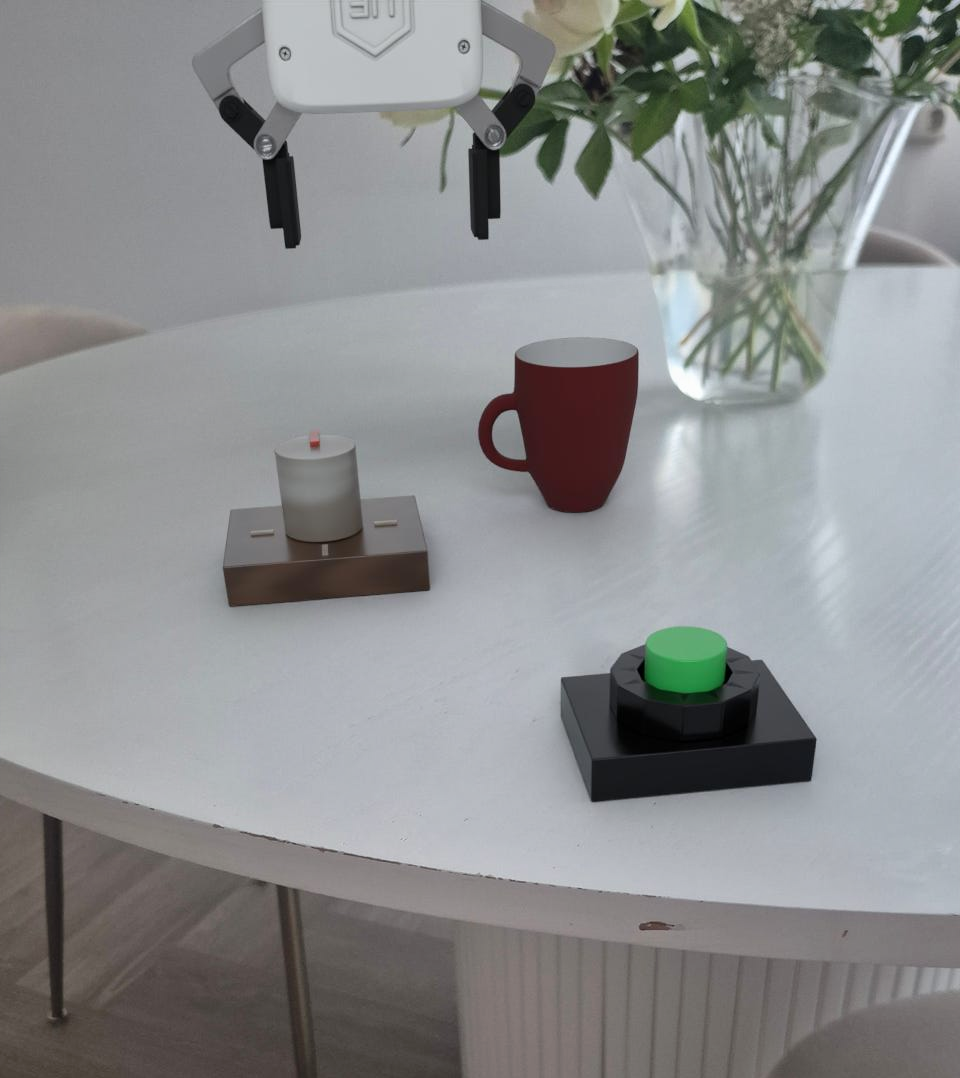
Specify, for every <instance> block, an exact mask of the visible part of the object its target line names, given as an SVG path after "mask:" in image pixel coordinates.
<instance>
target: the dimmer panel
mask: <svg viewBox="0 0 960 1078" xmlns="http://www.w3.org/2000/svg"><path fill="white" fill-rule="evenodd" d="M360 499H361V498H360ZM361 509H362V520H363V527H362V529H361V530H360V531H359V532H357V533H356V534H354V535H352V536H349V537H346V538H343V539H339V540H334V541H326V542H307V541H300V540H296V539H293V538H291V537H289V536H288V535H287V534H286V532H285V526H284V518H283V511H282V505H271V506H257V507H245V508H244V507H243V508H231V509H230V510H229V516H228V517H229V518H228V526H227V533H226V539H225V548H224V556H223V561H222V572H223V579H224V584H225V591H226V597H227V603H228V607H239V606H241V607H242V606H251V605H263V604H266V605H267V604H277V603H287V602H288V603H290V602H301V601H313V600H321V599H322V600H325V599H336V598H337V599H339V598H348V597H361V596H371V595H372V596H373V595H386V594H398V593H409V592H421V591H430V590H431V583H430V569H429V568H430V566H429V552H428V548H427V543H426V538H425V534H424V530H423V525H422V521H421V516H420V512H419V507H418V504H417V499H416V495H401V496H400V495H399V496H387V497H374V498H362V499H361Z"/></svg>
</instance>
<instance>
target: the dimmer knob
mask: <svg viewBox="0 0 960 1078" xmlns="http://www.w3.org/2000/svg"><path fill="white" fill-rule="evenodd" d="M356 447H357V445H356V442H355V441H354V440H353V439H351V438H349V437H346V436H340V435H334V434H320V430H319V429H316V430H309V435H304V436H298V437H294V438H290V439H288V440H285V441H283V442H281V443H279V444H277V446H275V448H274V456H275V463H276V472H277V479H278V480H277V481H278V487H279V494H280V502H281V506H282V511H283V518H284V526H285V532H286V534H287V535H288V536H289V537H291V538H293V539H296V540H300V541H307V542H326V541H334V540H339V539H343V538H346V537H349V536H352V535H354V534H356V533H357V532H359V531H360V530H361V529H362V527H363V520H362V509H361V491H360V490H361V489H360V479H359V470H358V469H359V467H358V458H357V448H356Z"/></svg>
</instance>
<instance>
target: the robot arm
mask: <svg viewBox="0 0 960 1078" xmlns="http://www.w3.org/2000/svg"><path fill="white" fill-rule="evenodd" d="M483 36H484V37H486V38H488V39H489V40H491V41H493V42H495V43H497V44H498V45H500V46H502V47H504V48H505V49H507V50H509V51H510V52H512V53H514V54H515V55H516V57H517V58H518V62H519V63H518V64H519V65H518V69H517V70H516V73H515V76H514V79H513V82H512V83H511V86H510V87H509V88H508V89H507V91H506V92H505V93H504V94H503V96H501V98H500V99H499V100H498V102H497V103H496V105H495V106H494V107H493V108H492V110H491V108H490V107H489V106H488V104H487V103H486V102H485V100H483V98H482V97H481V96H480V94H479V92H480V90H481V87H482V83H483V76H484V74H483V73H484V45H483V44H484V43H483V42H484V41H483ZM263 44H264V47H265V48H264V50H265V59H266V68H267V69H266V70H267V74H268V81H269V86H270V90H271V93H272V95H273V98H274V99H275V101H276V102H275V104H274V106H273V108H272V109H271V111H269V114H268V116H267V117H266V119H265V118H264V117H262V115H261V114H260V113H258V111H257V110H255V108H254V107H252V106H251V104H250V103H248V102H247V101H246V99H244V97H242V95H241V93H240V92H239V90H238V88H237V86H236V84H235V83H234V81H233V79H232V75H231V69H232V67H233V66H234V65H235V64H236V63H238V62H239V61H240V60H242V59H244V58H245V57H246V56H248V55H249V54H250V53H252V52H254V51H255V50H256V49H258V48H259V47H260V46H262V45H263ZM555 55H556V45H555V43H554V42H553V41H552V39H550V38H548V37H547V36H545V35H543V34H541V33H540V32H538V31H536V30H534V29H533V28H531V27H529V26H528V25H526V24H524V23H523V22H521V21H519V20H517V19H516V18H514V17H512V16H510V15H509V14H507V13H505V12H503V11H502V10H500V9H498V8H497V7H494V6H493V5H491V4H490V3H488V2H486V1H485V0H261V7H260V8H258V9H257V10H256V11H254V12H253V13H251V14H250V15H248V16H247V17H246V18H245V19H242V20H241V21H240V22H239V23H237V24H236V25H234V26H233V27H231V28H230V29H228V30H227V31H226V32H224V33H223V34H221V35H220V36H219V37H217V38H216V39H214V40H213V41H212V42H210V43H208V44H207V45H206V46H204V47H203V48H202V49H200V50H199V51H197V52H196V53H195V54H194V55H193V57H192V59H191V66H192V68H193V71H194V72H195V74H196V76H197V78H198V79H199V81H200V83H201V85H202V86H203V88H204V90H205V91H206V93H207V95H208V96H209V99H210V100H211V101H212V103H213V104H214V106H215V107H216V109H217V111H218V113H219V115H220V118H221V120H222V121H223V122H224V123H226V124H227V125H228V126H229V127H230V129H232V130H233V131H234V132H235V133H236V135H238V136H239V137H240V138H241V139H242V140H243V141H244V142H245V143H246V144H247V145H248V146H249V147H250V148H251V149H253V150H254V152H255V154H256V155H257V156H258V157H259V158H260V159H261V161H262V169H263V177H264V186H265V196H266V203H267V204H266V205H267V212H268V214H267V215H268V221H269V227H270V230H275V229H276V230H277V229H282V231H283V238H284V239H283V241H284V248H285V249H286V250H289V249H290V250H291V249H296V248H297V246H300V245H301V240H302V228H301V220H300V208H299V199H298V190H297V189H298V188H297V180H296V179H297V178H296V169H295V160H294V156H293V155H290V152H289V147H288V140H287V139H288V137H289V135H290V134H291V132H292V130H293V129H294V127H295V126H296V124H297V122H298V121H299V119H300V117H301V116H302V115H303V114H309V115H329V114H330V115H331V114H355V113H356V114H357V113H358V114H359V113H382V112H384V113H385V112H405V111H406V112H407V111H408V112H409V111H429V110H442V109H451V108H455V109H456V111H457V112H458V113H459V115H460V116H461V117H462V118H463V120H464V121H465V122H466V124H467V125H468V126H469V127H470V129H471V130H472V131H473V133H472V144H471V148H468V149H467V150H468V151H467V154H468V155H467V156H468V183H469V184H468V187H469V188H468V189H469V213H470V214H469V220H470V231H471V233H472V235H473V238H476V239H477V241H485V240H487V241H488V240H489V238H490V237H489V236H490V233H489V232H490V231H489V226H490V225H489V220H498V219H501V212H502V211H501V209H502V205H501V202H502V201H501V156H500V155H501V153H500V151H501V148H502V147H503V146H504V145H505V143H506V140H507V139H508V138H509V137H510V136H511V134H512V133H513V132H514V131H515V129H516V128H517V127H518V126H519V125H520V123H521V122H522V121H523V120H524V119H525V118H526V116H527V115H528V114H529V113H530V111H532V109H533V107H534V106H535V103H536V99H537V96H538V95H539V92H540V89H541V88H542V86H543V84H544V81H545V79H546V77H547V74H548V71H549V70H550V67H551V65H552V63H553V61H554V58H555Z"/></svg>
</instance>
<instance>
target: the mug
mask: <svg viewBox="0 0 960 1078" xmlns="http://www.w3.org/2000/svg"><path fill="white" fill-rule="evenodd" d="M639 354H640V353H639V349H638V348H637V347H636V346H635V345H634V344H632V343H629V342H626V341H622V340H618V339H613V338H606V337H605V338H604V337H589V336H586V337H582V336H580V337H577V336H576V337H562V338H561V337H560V338H551V339H546V340H545V339H544V340H541V341H535V342H532V343H528V344H526V345H523V346H521V347H519V348H518V349H517V350H516V351H515V353H514V378H513V379H514V381H513V392H511V393H503V394H500V395H497V396H496V397H494V398H493V399H491V400H490V401H489V402H488V404H487V405H486V407H485V408H484V410H483V411H482V413H481V415H480V419H479V422H478V428H477V439H478V442H479V446H480V449H481V451H482V453H483V455H484V457H485V458H486V459H488V460H489V462H490V463H492V464H493V465H494V466H496V467H499V468H501V469H504V470H507V471H513V472H518V473H519V472H520V473H528V474H529V475H530V476H531V478H532V480H533V482H534V483H535V485H536V487H537V489H538V490H539V493H540V494H541V496H542V498H543V499H544V501H545V503H546V504H547V505H548V507H549V508H551V509H552V510H555V511H559V512H564V513H585V512H591V511H594V510H597V509H599V508H601V507H602V506H604V505H605V503H606V502H607V500H608V498H609V496H610V494H611V492H612V491H613V489H614V487H615V485H616V483H617V481H618V479H619V477H620V475H621V473H622V471H623V468H624V464H625V461H626V456H627V452H628V447H629V446H628V445H629V440H630V436H631V432H632V431H631V430H632V426H633V421H634V416H635V410H636V406H637V400H638V391H639V370H640V369H639V366H640V365H639V362H640V359H639V358H640V357H639V356H640V355H639ZM509 411H516V413H517V417H518V422H519V426H520V432H521V437H522V442H523V448H524V453H525V459H518V458H517V459H516V458H511V457H507V456H505V455H503V454H502V453H501V452H499V450H498V449H497V448H496V446H495V444H494V440H493V439H494V438H493V429H494V425H495V423H496V421H497V419H498V418H499V417H500V415H501V414H503V413H505V412H509Z"/></svg>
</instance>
